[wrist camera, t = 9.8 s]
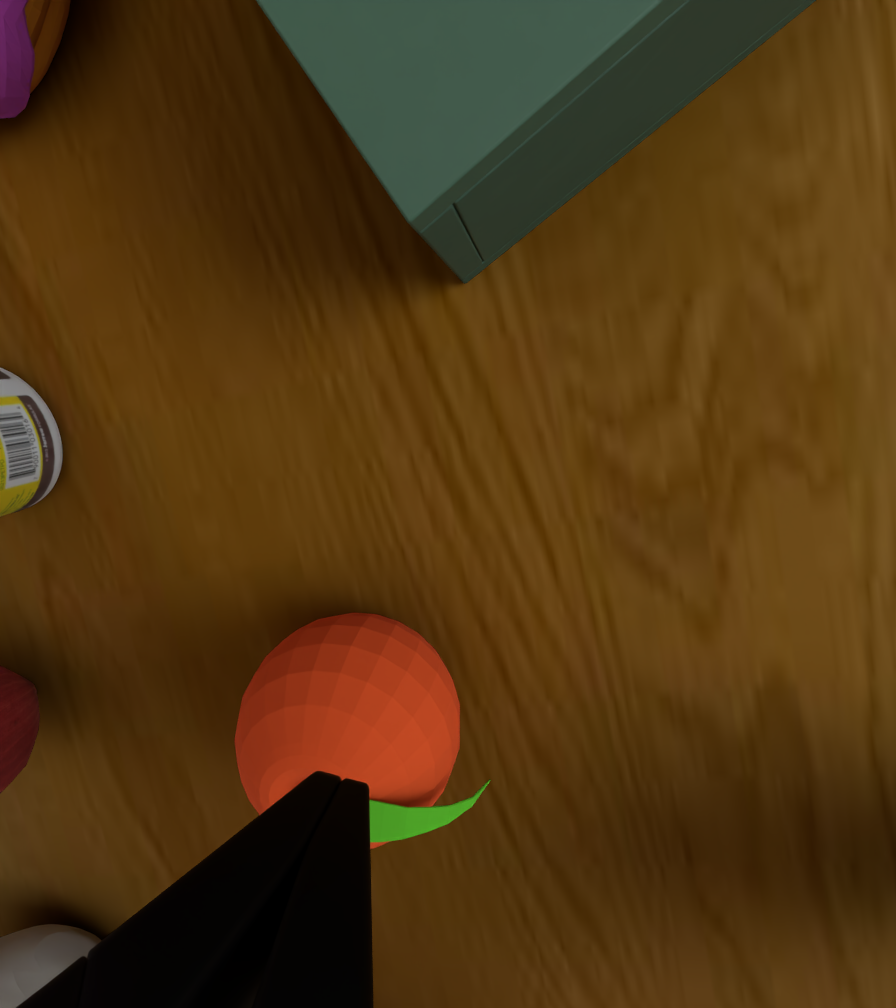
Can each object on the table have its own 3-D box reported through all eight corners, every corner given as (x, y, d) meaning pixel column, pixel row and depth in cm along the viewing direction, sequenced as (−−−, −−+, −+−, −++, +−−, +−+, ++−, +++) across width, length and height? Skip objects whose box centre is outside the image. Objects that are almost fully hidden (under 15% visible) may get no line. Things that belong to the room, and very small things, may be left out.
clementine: (515, 604, 19) (505, 744, 12) (486, 764, 21) (462, 963, 14) (300, 563, 20) (176, 672, 13) (291, 720, 21) (179, 887, 15)
